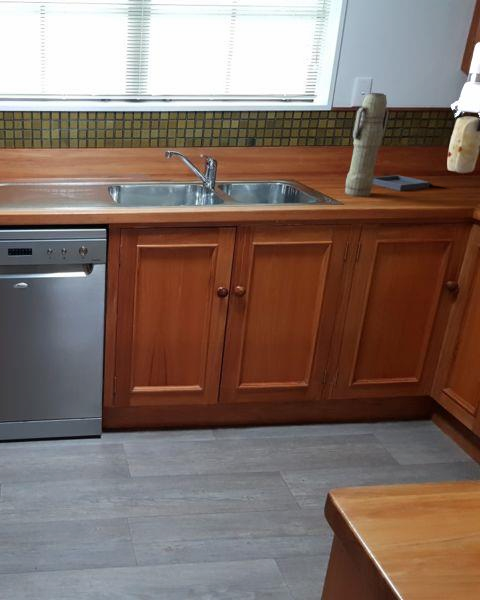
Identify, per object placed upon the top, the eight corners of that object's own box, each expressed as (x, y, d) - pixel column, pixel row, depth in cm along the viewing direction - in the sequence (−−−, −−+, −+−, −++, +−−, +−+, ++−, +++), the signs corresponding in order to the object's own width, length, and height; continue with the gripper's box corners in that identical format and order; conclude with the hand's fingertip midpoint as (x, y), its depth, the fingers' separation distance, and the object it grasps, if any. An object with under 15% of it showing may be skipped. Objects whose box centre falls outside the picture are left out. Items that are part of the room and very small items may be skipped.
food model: (473, 171, 229) (486, 116, 221) (474, 174, 223) (488, 118, 216) (443, 169, 233) (455, 115, 225) (444, 172, 228) (456, 117, 220)
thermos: (379, 195, 221) (400, 94, 207) (353, 197, 217) (373, 94, 203) (360, 190, 228) (379, 92, 215) (335, 192, 224) (353, 92, 211)
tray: (428, 188, 234) (430, 182, 233) (399, 191, 228) (401, 185, 227) (396, 180, 246) (397, 175, 245) (368, 183, 240) (369, 177, 239)
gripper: (511, 79, 210) (498, 131, 216) (464, 77, 224) (453, 126, 231) (497, 80, 207) (484, 133, 214) (450, 78, 222) (439, 127, 228)
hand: (468, 129), depth 222 cm, fingers closed on food model, 8 cm apart
